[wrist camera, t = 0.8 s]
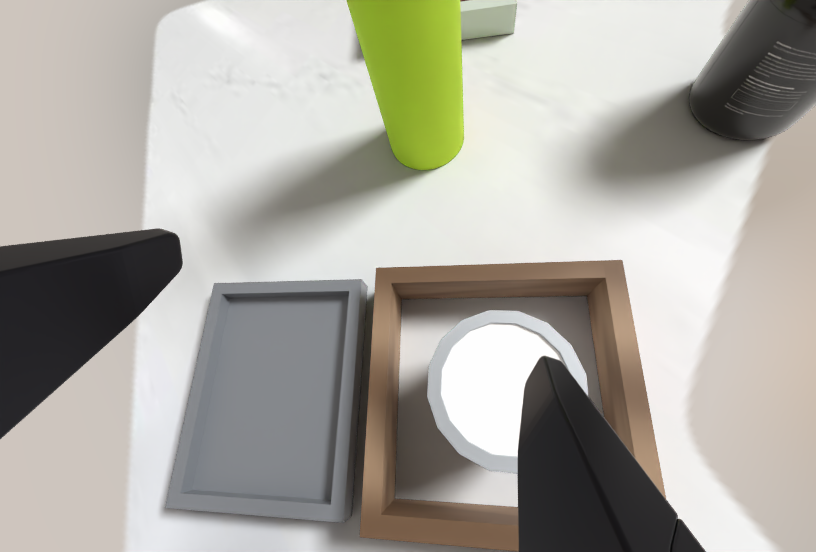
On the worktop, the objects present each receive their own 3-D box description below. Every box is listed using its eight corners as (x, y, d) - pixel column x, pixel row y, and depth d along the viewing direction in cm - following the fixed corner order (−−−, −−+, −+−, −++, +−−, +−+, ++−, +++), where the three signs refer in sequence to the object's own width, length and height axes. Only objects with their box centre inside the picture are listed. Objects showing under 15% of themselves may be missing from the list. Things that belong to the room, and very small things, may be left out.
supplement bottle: (821, 112, 25) (1104, -127, 14) (736, 160, 25) (953, -42, 14) (740, 54, 27) (924, -187, 16) (663, 97, 27) (795, -117, 16)
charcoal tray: (351, 515, 21) (343, 522, 20) (183, 501, 23) (165, 507, 22) (367, 286, 26) (361, 279, 25) (226, 289, 28) (214, 283, 26)
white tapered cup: (417, 403, 23) (395, 400, 16) (479, 315, 24) (483, 281, 17) (513, 482, 21) (533, 516, 14) (577, 381, 22) (622, 369, 15)
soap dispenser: (437, 190, 28) (369, -253, 9) (376, 144, 30) (225, -280, 12) (489, 140, 28) (524, -362, 10) (426, 99, 31) (359, -367, 12)
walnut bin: (642, 538, 19) (678, 565, 15) (376, 517, 21) (359, 537, 18) (601, 280, 23) (622, 260, 20) (388, 285, 26) (376, 268, 22)
